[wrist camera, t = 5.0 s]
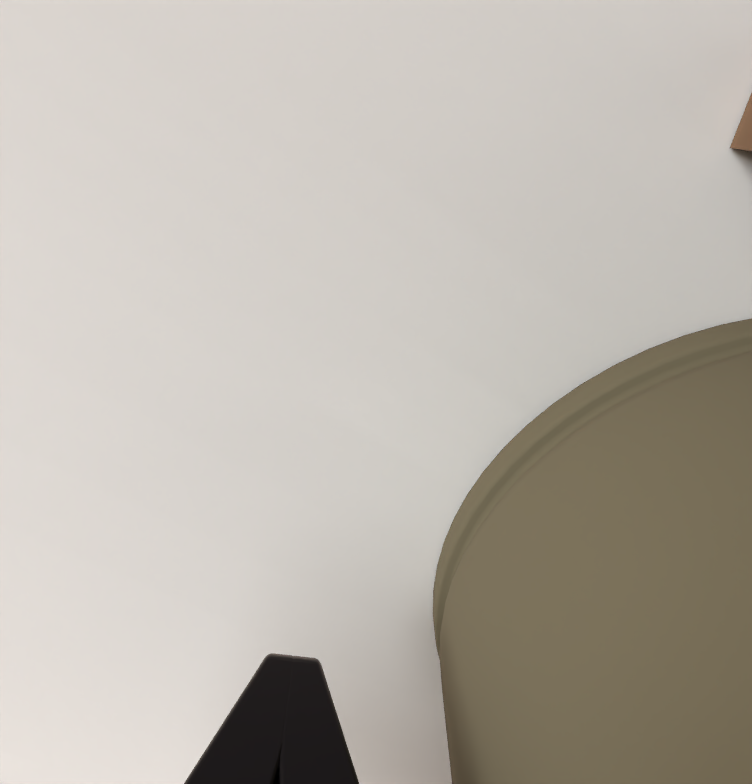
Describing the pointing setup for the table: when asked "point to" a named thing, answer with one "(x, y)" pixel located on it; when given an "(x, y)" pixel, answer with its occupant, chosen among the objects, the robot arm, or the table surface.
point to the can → (609, 582)
